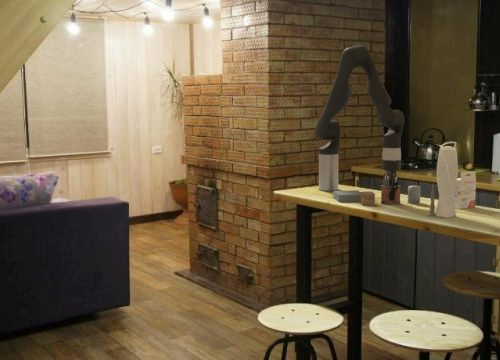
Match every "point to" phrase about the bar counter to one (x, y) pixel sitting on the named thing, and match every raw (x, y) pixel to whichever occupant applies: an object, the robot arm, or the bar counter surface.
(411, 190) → the grey upright block
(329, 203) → the bar counter surface
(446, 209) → the skyscraper
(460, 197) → the ink cartridge box
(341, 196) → the block
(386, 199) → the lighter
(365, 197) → the walnut block
